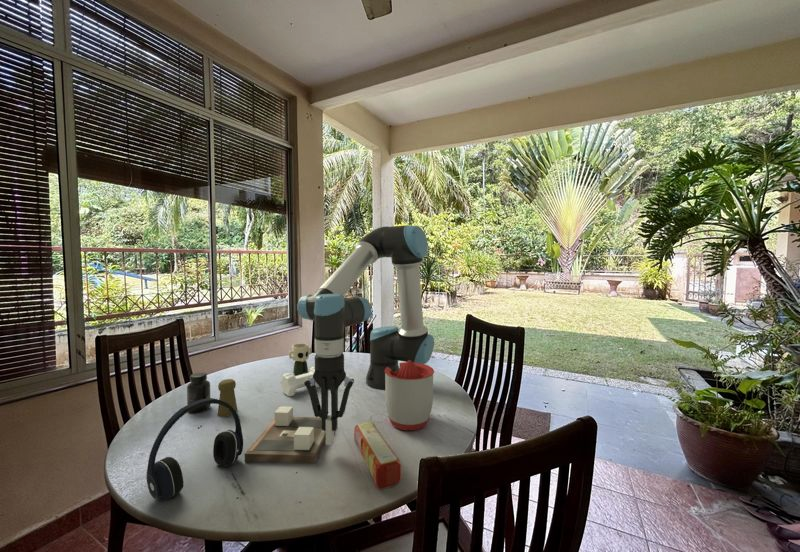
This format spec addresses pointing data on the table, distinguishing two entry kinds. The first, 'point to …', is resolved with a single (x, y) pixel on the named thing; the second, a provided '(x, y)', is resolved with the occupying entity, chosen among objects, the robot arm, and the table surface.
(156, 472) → the headphones
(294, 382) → the bone shaped toy
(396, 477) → the snack package
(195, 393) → the supplement bottle
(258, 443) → the brown wooden tray
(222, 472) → the table surface
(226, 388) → the cork
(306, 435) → the cream cube
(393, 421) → the citrus juicer
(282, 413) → the tab far
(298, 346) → the character mug
